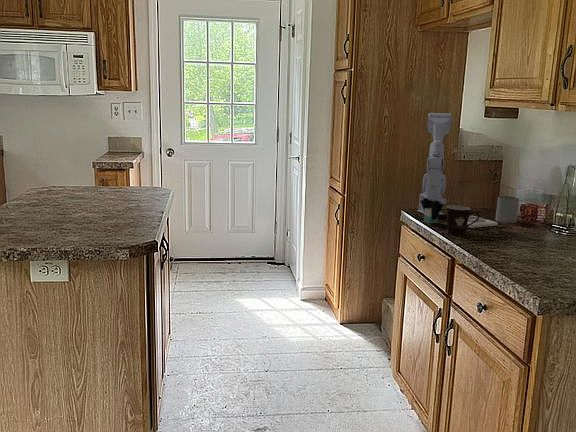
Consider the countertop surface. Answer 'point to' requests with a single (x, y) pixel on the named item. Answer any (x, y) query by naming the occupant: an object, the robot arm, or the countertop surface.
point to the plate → (480, 222)
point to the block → (429, 216)
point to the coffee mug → (458, 219)
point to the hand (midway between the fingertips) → (430, 218)
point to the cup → (507, 209)
